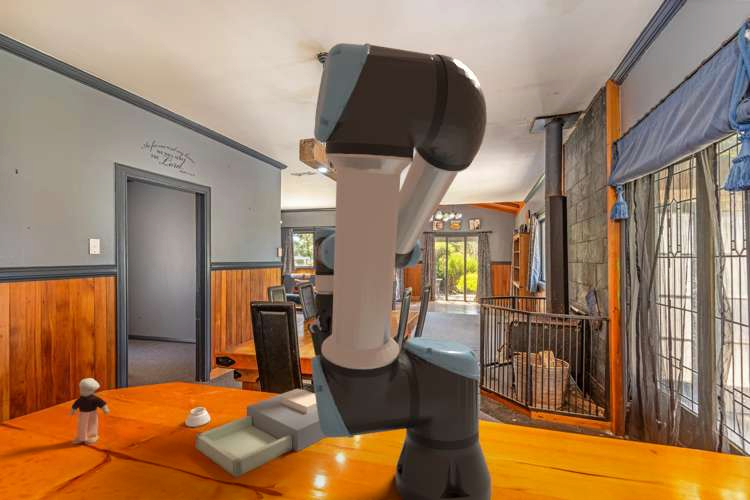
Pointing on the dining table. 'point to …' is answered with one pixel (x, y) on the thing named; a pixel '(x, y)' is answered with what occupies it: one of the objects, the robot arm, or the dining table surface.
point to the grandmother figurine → (88, 412)
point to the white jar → (197, 417)
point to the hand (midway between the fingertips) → (331, 389)
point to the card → (300, 401)
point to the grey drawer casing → (286, 421)
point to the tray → (241, 446)
